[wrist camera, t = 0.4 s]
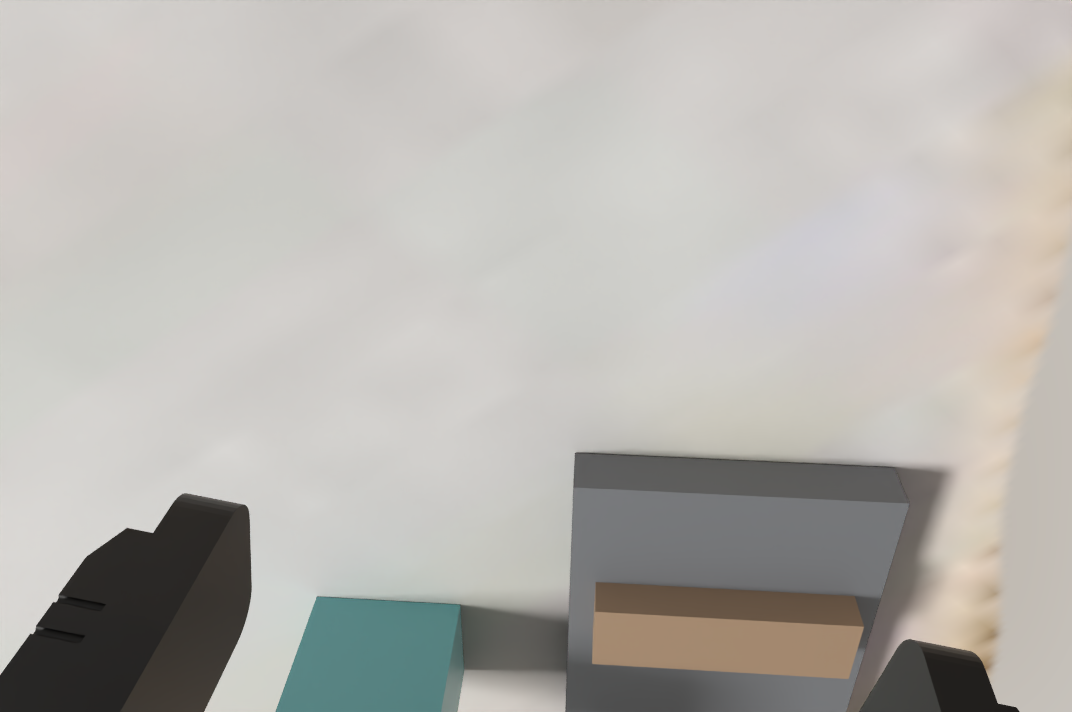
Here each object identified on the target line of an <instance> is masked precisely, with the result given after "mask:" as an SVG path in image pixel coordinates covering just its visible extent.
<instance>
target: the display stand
mask: <svg viewBox="0 0 1072 712" xmlns="http://www.w3.org/2000/svg"><path fill="white" fill-rule="evenodd" d="M909 504H910V503H909V501H908V499H907V496H906V494H905V492H904V489H903V487H902V484H901V482H900V480H899V477H898V475H897V473H896V470H895V468H890V467H868V466H846V465H825V464H803V463H781V462H759V461H738V460H716V459H694V458H672V457H650V456H629V455H607V454H585V453H575V466H574V486H573V514H572V542H571V570H570V599H569V627H568V655H567V683H566V711H565V712H846V711H847V707H848V704H849V701H850V698H851V694H852V691H853V688H854V684H855V681H856V678H857V675H858V671H859V668H860V665H861V662H862V658H863V655H864V652H865V648H866V645H867V642H868V639H869V635H870V632H871V629H872V625H873V622H874V619H875V616H876V612H877V609H878V606H879V602H880V599H881V596H882V593H883V589H884V586H885V583H886V580H887V576H888V573H889V570H890V566H891V563H892V560H893V557H894V553H895V550H896V547H897V543H898V540H899V537H900V534H901V530H902V527H903V524H904V520H905V517H906V514H907V511H908V507H909Z"/></svg>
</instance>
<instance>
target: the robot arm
mask: <svg viewBox="0 0 1072 712" xmlns="http://www.w3.org/2000/svg"><path fill="white" fill-rule="evenodd" d="M251 587H252V585H251V552H250V519H249V511H248V508H247V506H246V505H242V504H237V503H232V502H227V501H222V500H217V499H212V498H207V497H202V496H197V495H192V494H186V493H185V494H182V495H180V496H179V497H178V498H177V499H176V500H175V501H174V503H173V504H172V506H171V507H170V509H169V510H168V512H167V513H166V515H165V516H164V518H163V519H162V521H161V522H160V524H159V525H158V527H157V528H156V530H155V531H154V533H149V532H144V531H139V530H134V529H129V528H126V529H125V530H124V531H122V532H121V533H119V534H118V535H117V536H115V537H114V538H112V539H111V540H110V541H108V542H107V543H105V544H104V545H102V546H101V547H100V548H98V549H97V550H95V551H94V552H93V553H91V554H90V555H88V556H87V557H86V558H85V559H84V561H83V562H82V564H81V565H80V566H79V568H78V569H77V570H76V572H75V573H74V575H73V576H72V577H71V579H70V580H69V581H68V583H67V584H66V586H65V587H64V588H63V590H62V591H61V592H60V594H59V598H58V601H57V602H53V603H52V605H51V606H50V608H49V609H48V610H47V612H46V613H45V614H44V616H43V617H42V619H41V620H40V621H39V623H38V624H37V625H36V630H35V632H34V634H30V635H29V636H28V638H27V639H26V641H25V642H24V643H23V645H22V646H21V647H20V649H19V650H18V652H17V653H16V654H15V656H14V657H13V658H12V660H11V661H10V662H9V664H8V665H7V667H6V668H5V669H4V671H3V672H2V673H1V675H0V712H204V711H205V708H206V706H207V704H208V702H209V700H210V698H211V696H212V694H213V692H214V690H215V688H216V686H217V684H218V682H219V679H220V677H221V675H222V673H223V671H224V669H225V667H226V665H227V663H228V661H229V659H230V657H231V655H232V652H233V650H234V648H235V646H236V644H237V642H238V640H239V638H240V635H241V633H242V630H243V627H244V624H245V621H246V618H247V614H248V610H249V605H250V599H251ZM860 712H1019V710H1018V709H1017V708H1016V707H1011V706H1006V705H1002V704H998V703H997V700H996V698H995V695H994V692H993V689H992V686H991V684H990V681H989V678H988V676H987V673H986V670H985V668H984V665H983V663H982V661H981V660H980V658H979V657H978V656H977V655H976V654H975V653H973V652H971V651H966V650H961V649H956V648H951V647H946V646H941V645H936V644H931V643H926V642H921V641H916V640H911V639H909V640H905V641H903V642H902V643H901V644H900V645H899V647H898V648H897V650H896V652H895V653H894V655H893V656H892V658H891V660H890V661H889V663H888V665H887V666H886V668H885V670H884V671H883V673H882V675H881V676H880V678H879V680H878V681H877V683H876V685H875V686H874V688H873V690H872V691H871V693H870V695H869V696H868V698H867V700H866V701H865V703H864V705H863V706H862V708H861V710H860Z"/></svg>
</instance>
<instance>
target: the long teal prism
mask: <svg viewBox="0 0 1072 712" xmlns="http://www.w3.org/2000/svg"><path fill="white" fill-rule="evenodd" d="M463 674H464V659H463V642H462V625H461V608H460V605H457V604H439V603H421V602H403V601H385V600H367V599H349V598H331V597H317V598H316V601H315V604H314V606H313V609H312V612H311V615H310V617H309V620H308V623H307V626H306V629H305V631H304V634H303V637H302V640H301V642H300V645H299V648H298V651H297V654H296V656H295V659H294V662H293V665H292V668H291V670H290V673H289V676H288V679H287V681H286V684H285V687H284V690H283V693H282V695H281V698H280V701H279V704H278V706H277V709H276V712H457V711H458V705H459V699H460V693H461V687H462V680H463Z"/></svg>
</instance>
